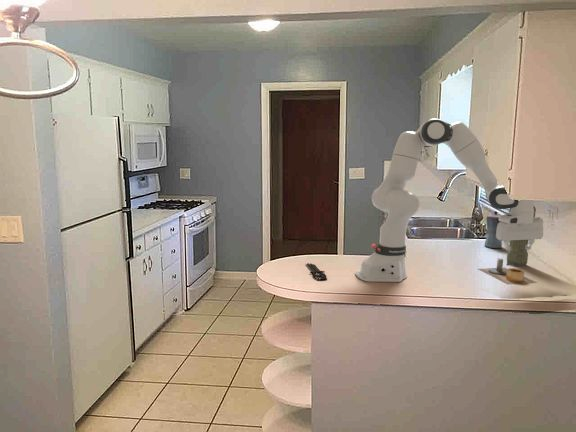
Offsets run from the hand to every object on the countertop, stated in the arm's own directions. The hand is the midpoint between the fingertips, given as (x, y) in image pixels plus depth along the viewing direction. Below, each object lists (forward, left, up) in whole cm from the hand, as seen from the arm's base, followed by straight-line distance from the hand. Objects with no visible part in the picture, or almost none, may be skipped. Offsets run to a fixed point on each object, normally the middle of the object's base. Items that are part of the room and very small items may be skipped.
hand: (518, 249), depth 204 cm
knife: (-81, +29, -15) cm, 88 cm away
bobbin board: (0, +6, -15) cm, 16 cm away
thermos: (+17, +22, -15) cm, 31 cm away
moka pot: (+29, +58, -15) cm, 66 cm away
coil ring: (0, 0, -13) cm, 13 cm away
